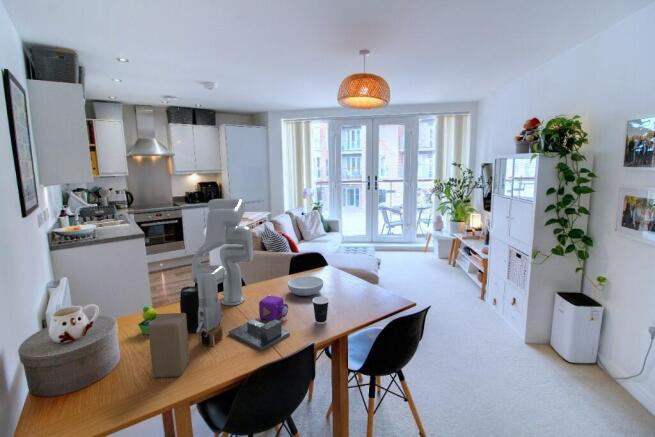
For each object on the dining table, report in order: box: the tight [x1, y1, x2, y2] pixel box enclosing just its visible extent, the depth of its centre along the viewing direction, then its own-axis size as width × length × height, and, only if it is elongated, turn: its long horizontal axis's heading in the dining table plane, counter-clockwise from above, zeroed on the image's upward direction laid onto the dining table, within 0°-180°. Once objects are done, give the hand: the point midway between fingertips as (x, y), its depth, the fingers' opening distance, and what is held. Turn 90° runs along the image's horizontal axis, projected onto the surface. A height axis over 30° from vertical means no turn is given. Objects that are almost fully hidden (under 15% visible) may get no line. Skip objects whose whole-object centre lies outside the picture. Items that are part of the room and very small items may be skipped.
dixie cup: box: [312, 296, 330, 325], centre depth 156 cm, size 8×8×11 cm
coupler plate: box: [228, 318, 291, 352], centre depth 145 cm, size 22×16×8 cm
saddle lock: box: [198, 325, 224, 347], centre depth 140 cm, size 7×6×6 cm
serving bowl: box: [287, 275, 325, 297], centre depth 193 cm, size 21×21×7 cm
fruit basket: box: [137, 305, 160, 335], centre depth 150 cm, size 11×9×11 cm
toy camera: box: [258, 294, 289, 322], centre depth 161 cm, size 11×14×10 cm
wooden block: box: [148, 312, 191, 378], centre depth 119 cm, size 10×10×20 cm
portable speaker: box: [179, 285, 199, 334], centre depth 149 cm, size 9×9×20 cm
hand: (211, 339), depth 140 cm, fingers closed on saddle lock, 6 cm apart
